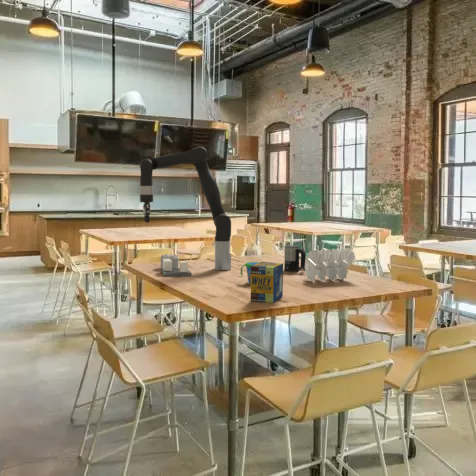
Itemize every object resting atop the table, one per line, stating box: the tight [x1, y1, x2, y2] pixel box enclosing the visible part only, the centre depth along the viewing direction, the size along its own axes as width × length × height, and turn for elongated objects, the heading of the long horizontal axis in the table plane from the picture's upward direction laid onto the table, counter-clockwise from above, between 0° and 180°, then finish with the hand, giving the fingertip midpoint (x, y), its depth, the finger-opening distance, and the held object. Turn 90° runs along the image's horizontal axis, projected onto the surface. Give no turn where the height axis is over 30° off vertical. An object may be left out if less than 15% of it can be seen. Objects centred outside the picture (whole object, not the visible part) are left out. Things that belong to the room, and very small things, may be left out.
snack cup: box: [240, 261, 260, 284], centre depth 273 cm, size 16×11×10 cm
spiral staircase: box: [304, 247, 356, 282], centre depth 280 cm, size 18×18×25 cm
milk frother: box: [283, 244, 307, 272], centre depth 316 cm, size 14×16×15 cm
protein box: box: [250, 261, 284, 304], centre depth 233 cm, size 10×15×16 cm
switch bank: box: [160, 267, 192, 278], centre depth 302 cm, size 15×19×2 cm
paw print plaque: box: [160, 253, 180, 270], centre depth 321 cm, size 10×13×9 cm
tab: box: [179, 260, 189, 272], centre depth 296 cm, size 4×4×6 cm
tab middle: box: [164, 260, 172, 271], centre depth 300 cm, size 4×4×6 cm
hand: (146, 221), depth 305 cm, fingers open, 8 cm apart
